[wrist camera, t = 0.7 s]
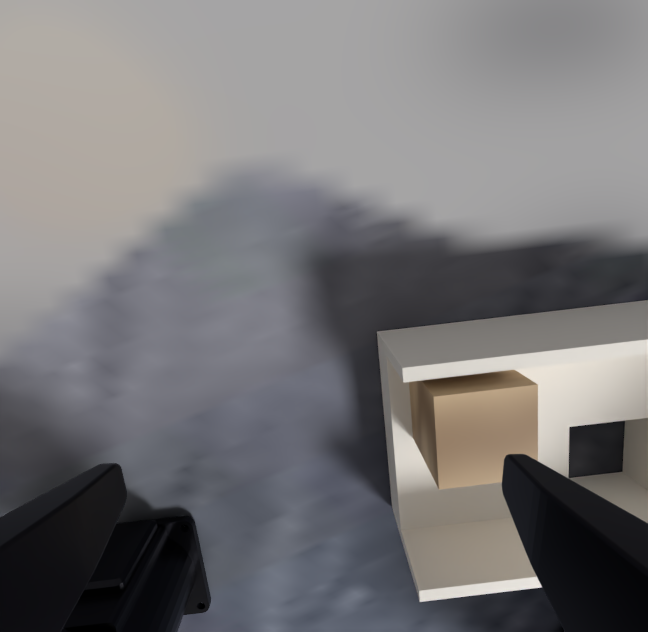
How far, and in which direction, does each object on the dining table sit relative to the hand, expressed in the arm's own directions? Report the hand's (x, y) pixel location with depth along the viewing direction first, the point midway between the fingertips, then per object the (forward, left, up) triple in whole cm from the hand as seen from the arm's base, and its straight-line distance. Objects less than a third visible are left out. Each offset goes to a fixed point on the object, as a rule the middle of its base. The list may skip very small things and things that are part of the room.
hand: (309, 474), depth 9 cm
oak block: (-3, -7, -9) cm, 12 cm away
